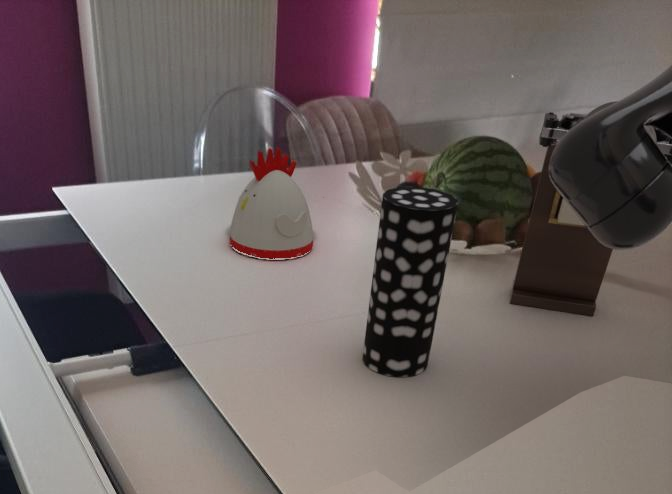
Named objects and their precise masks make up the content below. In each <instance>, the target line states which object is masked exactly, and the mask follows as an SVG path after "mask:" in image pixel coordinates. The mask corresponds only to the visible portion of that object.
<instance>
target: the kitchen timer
mask: <svg viewBox="0 0 672 494" xmlns="http://www.w3.org/2000/svg"><path fill="white" fill-rule="evenodd" d="M266 153H267V154H266V160H265V155H264V153H263V151H261V150H257V160H256V162H257V163H255V161H254V160H251V159H250V160H249V164H250V167H251V170H252V172H253V176H254V177H253V178H252V179H251V180H250V181H249V182H248V184H247V185H246V186H245V188H244V189H243V191H242V192H241V194H240V195H239V197H238V201H237V202H236V206H235V209H234V212H233V216H232V218H231V219H232V220H231V224H230V231H229V245H230V244H231V245H232V247H234V248H235V249H237V250H238V251H240V252H243V253H246V254H248V255H252V256H255V257H260V258H269V259H273V258H274V259H275V258H291V257H297V256H301V255H304V254H305V253H307V252H309V251H310V250H311V249H312V247H313V248H314V230H313V229H314V228H313V222H312V218H311V214H310V213H311V212H310V209H309V205H308V202H307V198H306V197H305V195H304V193H303V191H302V189H301V188H300V186H299V185H298V184H297V182H296V181H295V179H293V178H292V176H293V174H294V171H295V169H296V166H297V161H295V160H292V161H291V163H290V164H289V162H290V161H289V160H290V155H289V154H287V153H284V155H282V148H280V147H278V146H277V147H276V149H275V153H274V150H273V149H272V148H270V147H269V148H268V149H267V152H266ZM282 156H283V157H282ZM288 165H289V166H288ZM312 250H313V249H312Z"/></svg>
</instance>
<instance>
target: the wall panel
mask: <svg viewBox="0 0 672 494" xmlns="http://www.w3.org/2000/svg"><path fill="white" fill-rule="evenodd" d="M558 142H559V140H557V141H556V144H555V145H551V146H547V147H546V151H545V156H544V158H543V159H544V160H543V164H542V168H541V171H540V174H539V175H540V176H539V179H538V184H537V188H536V191H535V196H534V199H533V204H532V207H531V211H530V215H529V219H528V223H527V228H526V231H525V236H524V239H523V243H522V246H521V252H520V255H519V259H518V263H517V267H516V270H515V271H516V272H515V275H514V279H513V281H512V284H511V288H510V289H511V290H510V298H509V303H510V304H511V305H518V306H523V307H531V308H537V309H543V310H549V311H556V312H563V313H569V314H575V315H581V316H589V317H594V315H595V312H596V309H597V299H598V297H599V293H600V289H601V287H602V283H603V282H604V278H605V275H606V271H607V268H608V265H609V263H610V259H611V256H612V253H613V251H614V249H611V248H608V247H606V246H604V245H602V244H601V243H600V242H598V240H597V239H596V238H595V237H594V236H593V235H592V234H591V232H590V231H589V230H588V229H587V226H583V225H575V224H568V223H560V222H558V214H559V210H560V207H561V203H562V200H563V197H562V196H561V195H560V193H559V192H558V191H557V189H556V188H555V187H554V185H553V184H552V182H551V180H550V178H549V173H548V170H549V162H550V158H551V155H552V153H553V150H554V149H555V147H556V145H557V143H558Z"/></svg>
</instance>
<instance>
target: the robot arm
mask: <svg viewBox="0 0 672 494" xmlns="http://www.w3.org/2000/svg"><path fill="white" fill-rule="evenodd" d="M538 140H539V142H538V144H539V146H542V148H547V147H548V146H551V145H555V144H556V141H559V142H558V143H557V145H556V147H555V149H554V150H553V153H552V155H551V158H550V162H549V170H548V173H549V178H550V180H551V182H552V184H553V185H554V187H555V188H556V189H557V191H558V192H559V193H560V195H561V196H562V197H563V198H564V200H565V201H566V202H567V203H568V204H569V206H570V207H571V208H572V209H573V211H574V212H575V213H576V215H577V216H578V217H579V218H580V220H581V221H582V222H583V223H584V225H585V226H587V229H588V230H589V231H590V232H591V234H592V235H593V236H594V237H595V238H596V239H597V240H598V242H600V243H601V244H602V245H604V246H606V247H608V248H611V249H613V251H627V250H632V249H636V248H639V247H641V246H644V245H646V244H648V243H649V242H651V241H653V240H655V239H657V238H658V237H659V236H660V235H661V234H662V233H664V231H665V230H666V229H667V228H668V227H669V226H670V225H671V224H672V64H671V65H670V66H668V67H667V68H666V69H665V70H664V71H662V72H661V73H660V74H658V75H657V76H656V77H655V78H653V79H652V80H651V81H649V82H648V83H646V84H645V85H643V86H642V87H639V89H637V90H635V91H634V92H632V93H631V94H628V95H627V96H625V97H623V98H622V99H620V100H616V101H610V102H606V103H603V104H601V105H599V106H597V107H595V108H593V109H592V110H591V111H590V112H589V113H574V112H573V113H572V112H570V113H566V114H562V116H561V119H560V118H558V114H555V113H554V112H552V111H549V112H545V113H544V118H543V123H542V128H541V132H540V134H539V138H538Z"/></svg>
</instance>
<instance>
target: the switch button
mask: <svg viewBox="0 0 672 494" xmlns="http://www.w3.org/2000/svg"><path fill="white" fill-rule="evenodd" d="M558 222H560V223H568V224H575V225H583V226H585V225H584V223H583V222H582V221H581V220H580V218H579V217H578V216H577V215H576V213H575V212H574V211H573V209H572V208H571V207H570V206H569V204H568V203H567V202H566V201H565V200H564V198H563V200H562V203H561V207H560V210H559V214H558Z"/></svg>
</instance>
